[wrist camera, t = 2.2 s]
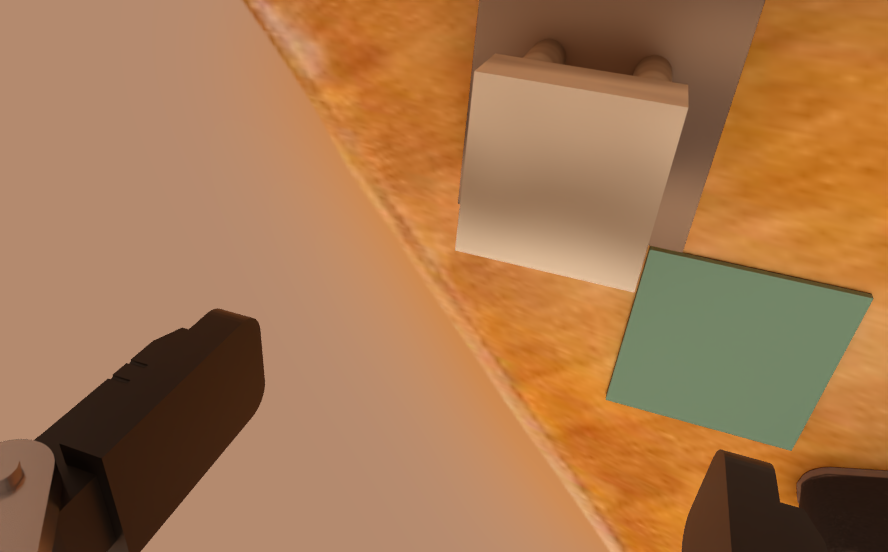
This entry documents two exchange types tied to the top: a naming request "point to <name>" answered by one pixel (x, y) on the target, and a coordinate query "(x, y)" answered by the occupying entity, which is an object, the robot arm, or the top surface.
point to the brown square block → (619, 51)
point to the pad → (732, 345)
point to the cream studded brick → (568, 163)
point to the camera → (847, 507)
